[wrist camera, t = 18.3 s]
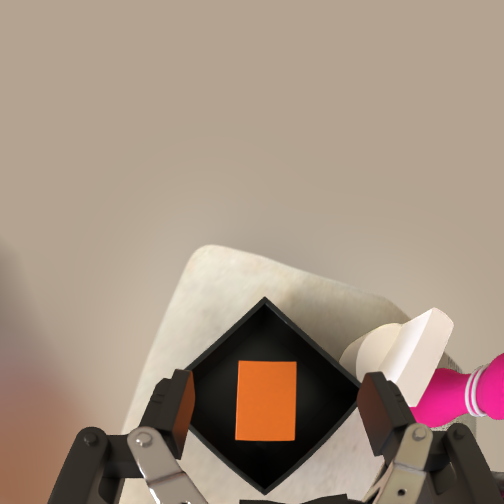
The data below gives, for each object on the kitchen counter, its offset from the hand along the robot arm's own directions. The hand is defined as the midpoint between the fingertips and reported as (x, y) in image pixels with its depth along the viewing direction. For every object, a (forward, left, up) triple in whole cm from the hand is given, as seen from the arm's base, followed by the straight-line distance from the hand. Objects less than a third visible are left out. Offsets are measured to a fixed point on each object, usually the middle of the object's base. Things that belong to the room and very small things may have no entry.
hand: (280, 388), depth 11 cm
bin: (-1, +1, -19) cm, 19 cm away
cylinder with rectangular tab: (-9, -10, -19) cm, 23 cm away
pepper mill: (-17, -11, -19) cm, 28 cm away
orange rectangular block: (-1, +1, -19) cm, 19 cm away
